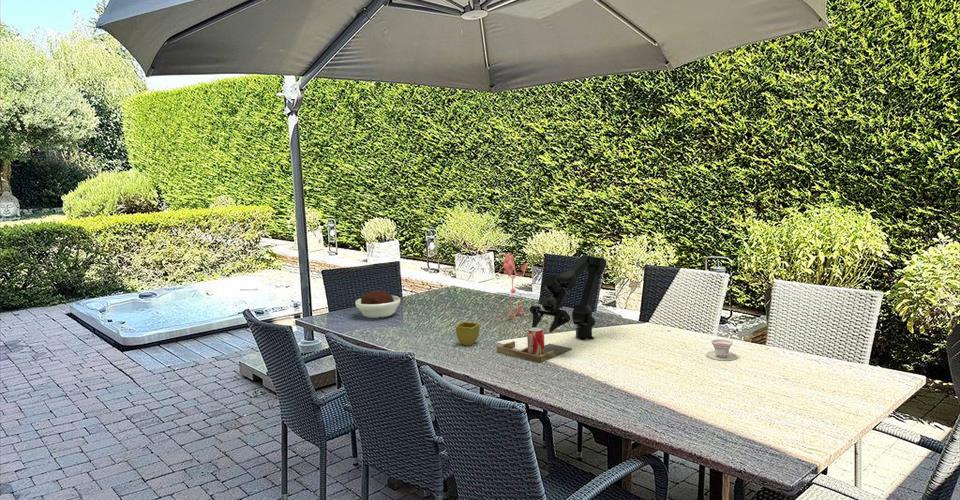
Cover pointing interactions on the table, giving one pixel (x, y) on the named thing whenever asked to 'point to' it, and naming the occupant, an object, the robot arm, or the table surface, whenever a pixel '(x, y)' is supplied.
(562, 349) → the rubber mat
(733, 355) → the teacup
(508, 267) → the figurine
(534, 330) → the soda can
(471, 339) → the flower pot
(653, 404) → the table surface
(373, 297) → the white dessert bowl
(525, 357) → the shelf lanes
